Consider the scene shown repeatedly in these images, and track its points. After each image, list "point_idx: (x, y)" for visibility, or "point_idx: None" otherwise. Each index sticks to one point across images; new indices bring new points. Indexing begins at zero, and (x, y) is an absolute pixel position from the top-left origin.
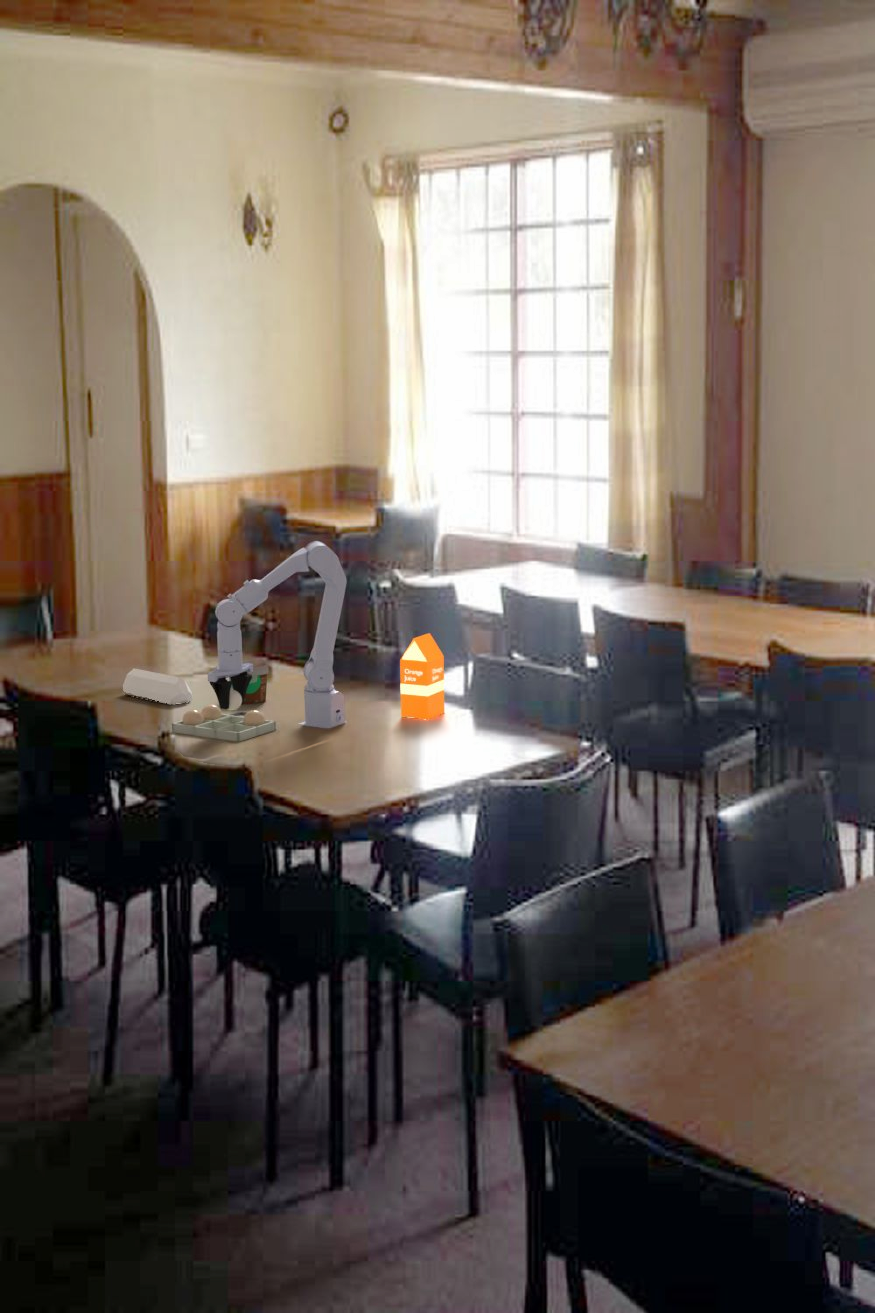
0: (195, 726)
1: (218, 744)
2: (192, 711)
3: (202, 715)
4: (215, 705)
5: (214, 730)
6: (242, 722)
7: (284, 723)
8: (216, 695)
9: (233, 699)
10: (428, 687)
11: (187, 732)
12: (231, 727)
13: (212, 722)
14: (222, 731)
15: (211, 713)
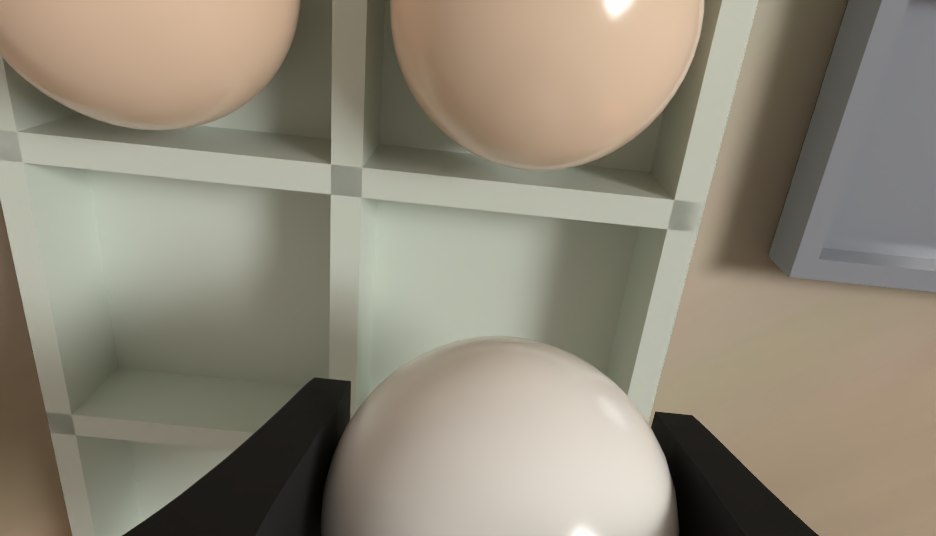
0: (8, 156)
1: (39, 436)
2: (3, 11)
3: (199, 108)
4: (588, 97)
5: (51, 406)
6: None
7: (876, 522)
8: (180, 494)
9: None
10: None
11: None
12: None
13: (318, 190)
14: (67, 486)
15: (427, 109)
